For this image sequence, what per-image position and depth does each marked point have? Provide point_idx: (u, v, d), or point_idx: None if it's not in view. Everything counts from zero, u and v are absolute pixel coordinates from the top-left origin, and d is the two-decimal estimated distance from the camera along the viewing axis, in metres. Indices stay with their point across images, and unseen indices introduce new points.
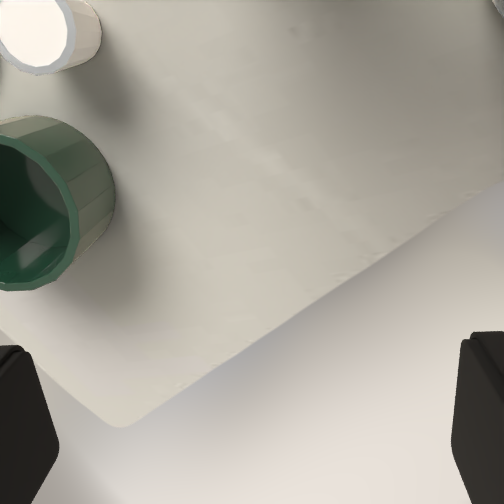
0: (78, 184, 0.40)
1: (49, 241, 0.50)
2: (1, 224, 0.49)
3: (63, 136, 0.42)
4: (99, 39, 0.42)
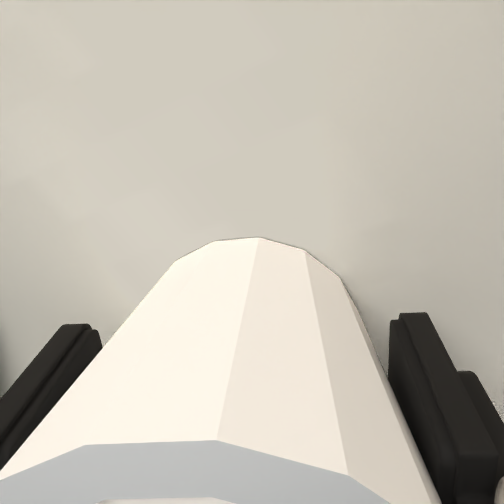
0: None
1: None
2: None
3: None
4: None
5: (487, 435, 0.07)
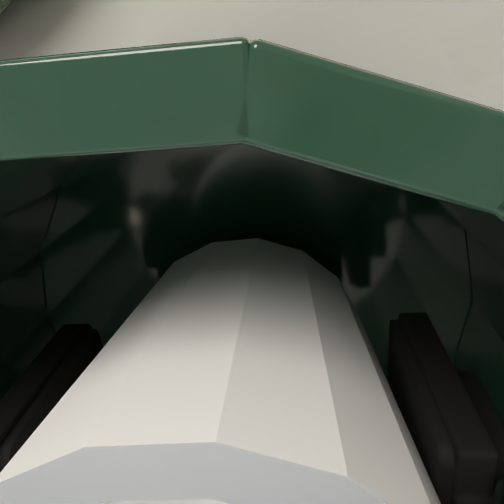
0: None
1: None
2: None
3: None
4: None
5: (486, 435, 0.07)
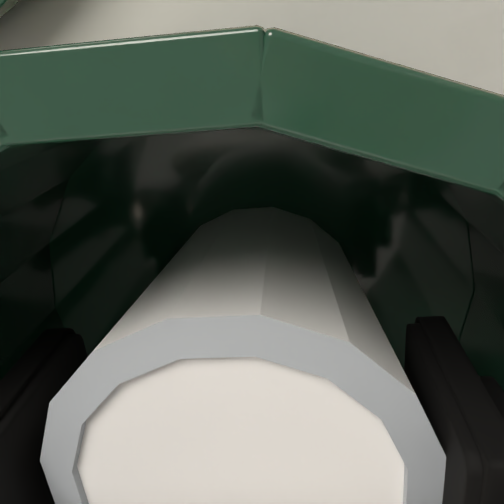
0: None
1: None
2: None
3: None
4: None
5: None
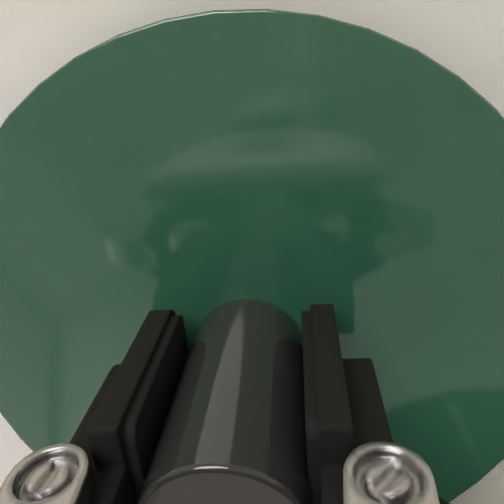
0: None
1: None
2: None
3: None
4: None
5: (348, 411, 0.07)
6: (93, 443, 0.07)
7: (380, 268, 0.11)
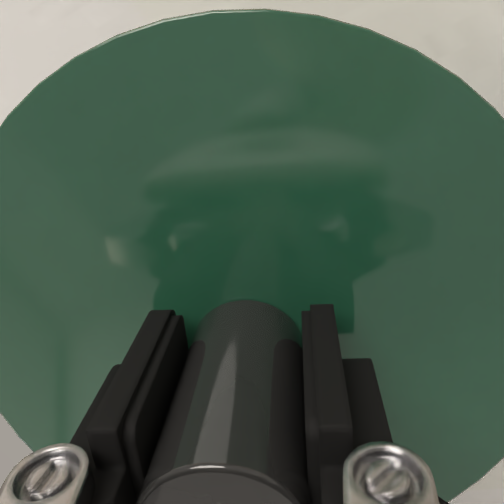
0: None
1: None
2: None
3: None
4: None
5: (348, 411, 0.07)
6: (93, 443, 0.07)
7: (379, 268, 0.11)
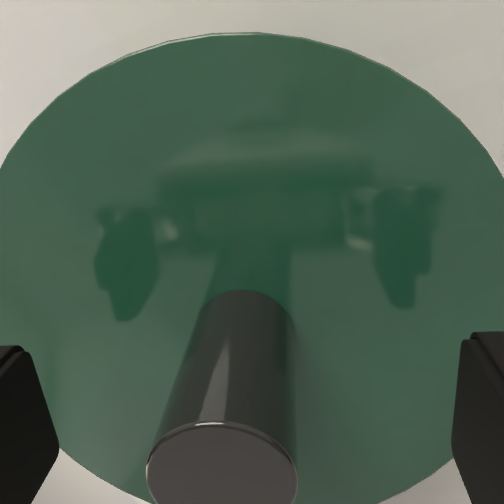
0: None
1: None
2: None
3: None
4: None
5: None
6: None
7: (361, 260, 0.12)
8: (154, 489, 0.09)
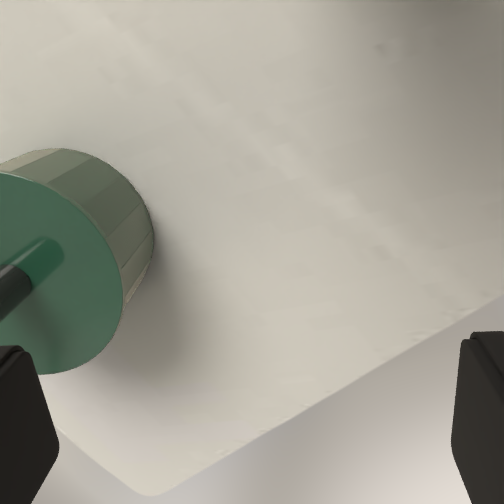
0: (117, 238, 0.32)
1: None
2: None
3: (96, 176, 0.35)
4: None
5: None
6: None
7: (49, 252, 0.31)
8: None
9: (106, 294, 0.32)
